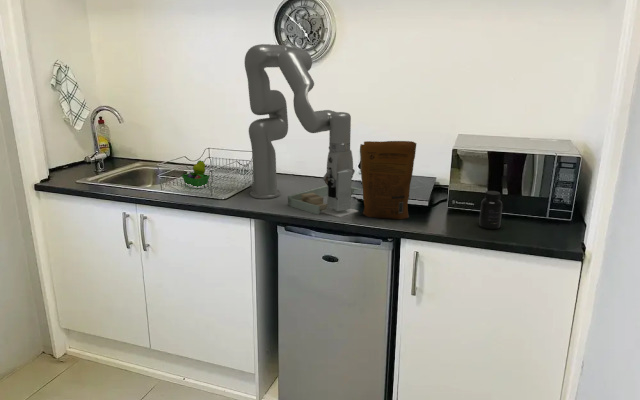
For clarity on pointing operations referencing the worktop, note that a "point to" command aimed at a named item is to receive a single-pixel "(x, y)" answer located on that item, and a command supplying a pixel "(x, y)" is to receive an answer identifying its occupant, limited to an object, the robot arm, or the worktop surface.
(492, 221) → the supplement bottle
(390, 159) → the pancake mix bag
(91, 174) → the worktop surface
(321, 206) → the bottom offcut
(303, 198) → the top offcut
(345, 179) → the skincare box
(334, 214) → the mat
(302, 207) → the tray
